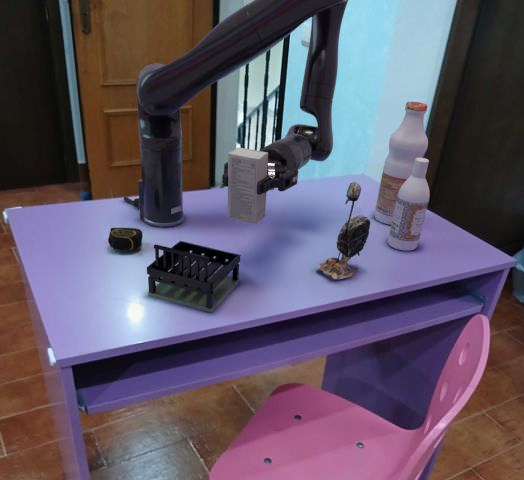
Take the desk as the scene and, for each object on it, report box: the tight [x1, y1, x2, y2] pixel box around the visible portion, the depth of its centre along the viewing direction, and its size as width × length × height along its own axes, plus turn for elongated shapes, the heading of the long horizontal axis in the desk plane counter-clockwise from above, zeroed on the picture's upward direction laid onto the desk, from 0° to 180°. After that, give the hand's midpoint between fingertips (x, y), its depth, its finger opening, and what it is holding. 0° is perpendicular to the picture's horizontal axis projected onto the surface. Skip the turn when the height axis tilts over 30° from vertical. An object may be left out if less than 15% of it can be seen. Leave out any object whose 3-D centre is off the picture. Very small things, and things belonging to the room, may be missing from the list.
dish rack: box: [146, 240, 242, 314], centre depth 104 cm, size 13×13×10 cm
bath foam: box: [387, 157, 431, 252], centre depth 125 cm, size 7×7×20 cm
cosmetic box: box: [227, 146, 268, 225], centre depth 102 cm, size 6×4×12 cm
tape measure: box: [107, 227, 143, 252], centre depth 118 cm, size 7×7×4 cm
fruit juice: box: [374, 101, 429, 226], centre depth 136 cm, size 9×9×28 cm
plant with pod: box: [315, 181, 373, 281], centre depth 112 cm, size 8×11×20 cm
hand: (241, 184), depth 99 cm, fingers closed on cosmetic box, 6 cm apart
